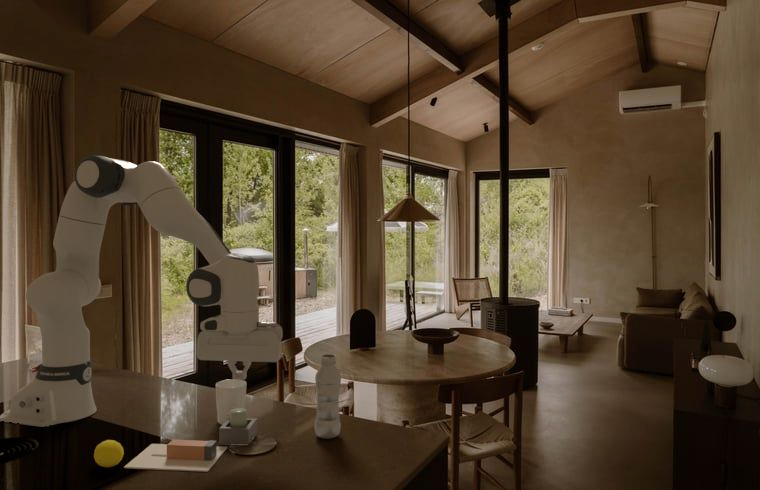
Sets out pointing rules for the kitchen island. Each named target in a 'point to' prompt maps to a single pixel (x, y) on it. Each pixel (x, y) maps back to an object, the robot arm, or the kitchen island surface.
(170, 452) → the block
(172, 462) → the paper
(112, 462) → the lemon
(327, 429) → the plastic bottle
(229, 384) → the white cup
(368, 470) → the kitchen island surface
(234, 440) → the button housing
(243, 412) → the button
